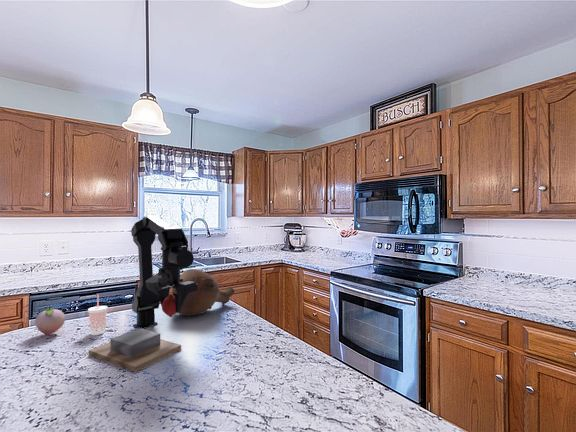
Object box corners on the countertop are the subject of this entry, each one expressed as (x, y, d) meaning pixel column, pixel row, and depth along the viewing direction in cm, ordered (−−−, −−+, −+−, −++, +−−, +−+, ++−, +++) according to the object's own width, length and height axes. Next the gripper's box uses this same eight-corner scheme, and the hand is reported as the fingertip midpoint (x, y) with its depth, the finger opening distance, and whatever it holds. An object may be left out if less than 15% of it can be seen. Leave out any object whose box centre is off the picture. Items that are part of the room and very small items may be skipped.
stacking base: (88, 355, 92) (88, 338, 92) (136, 336, 106) (136, 322, 106) (135, 372, 82) (135, 353, 82) (181, 349, 96) (181, 333, 96)
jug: (175, 325, 117) (237, 320, 138) (188, 277, 117) (248, 279, 138) (156, 304, 132) (215, 302, 153) (167, 261, 131) (225, 265, 152)
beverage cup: (104, 334, 108) (104, 295, 108) (84, 336, 106) (85, 297, 106) (109, 328, 114) (110, 291, 114) (91, 330, 112) (91, 292, 112)
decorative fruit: (68, 334, 108) (68, 306, 108) (39, 341, 102) (39, 312, 102) (61, 328, 114) (61, 302, 114) (33, 334, 108) (33, 306, 108)
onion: (183, 314, 104) (183, 291, 104) (175, 319, 98) (175, 295, 98) (166, 313, 104) (166, 290, 104) (158, 319, 99) (158, 295, 99)
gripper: (131, 265, 98) (130, 313, 98) (172, 270, 90) (172, 322, 90) (159, 261, 108) (158, 304, 108) (198, 265, 100) (198, 312, 100)
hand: (170, 310), depth 101 cm, fingers closed on onion, 6 cm apart
